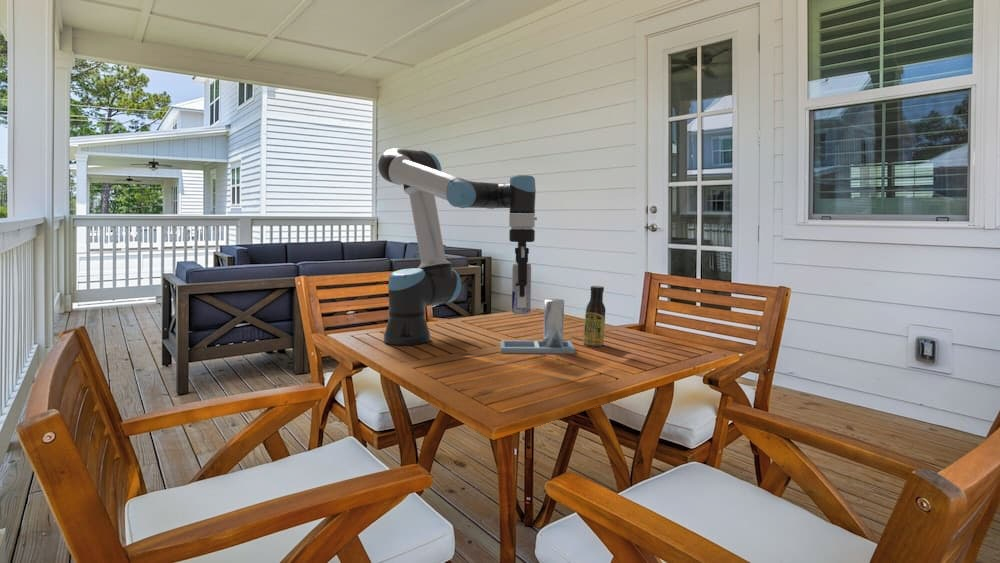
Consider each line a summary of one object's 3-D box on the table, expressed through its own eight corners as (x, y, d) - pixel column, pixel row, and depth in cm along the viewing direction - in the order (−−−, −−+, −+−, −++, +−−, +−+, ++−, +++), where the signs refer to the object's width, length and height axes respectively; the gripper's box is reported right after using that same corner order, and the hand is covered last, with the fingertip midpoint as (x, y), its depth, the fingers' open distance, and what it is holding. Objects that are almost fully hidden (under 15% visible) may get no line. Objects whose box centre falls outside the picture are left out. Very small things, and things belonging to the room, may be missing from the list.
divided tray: (500, 356, 161) (500, 348, 161) (500, 348, 171) (500, 340, 170) (574, 357, 161) (575, 348, 161) (570, 348, 171) (570, 340, 171)
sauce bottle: (580, 349, 171) (582, 286, 168) (587, 345, 176) (588, 284, 174) (600, 352, 168) (602, 288, 165) (606, 347, 173) (608, 285, 171)
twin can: (539, 349, 165) (540, 300, 164) (550, 345, 170) (551, 298, 168) (555, 352, 162) (557, 302, 160) (566, 348, 166) (568, 300, 165)
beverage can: (534, 313, 165) (534, 263, 163) (523, 315, 160) (524, 264, 159) (518, 310, 168) (519, 262, 166) (508, 313, 164) (508, 263, 162)
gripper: (537, 229, 152) (535, 311, 155) (532, 227, 170) (531, 301, 173) (510, 229, 152) (509, 311, 155) (508, 227, 170) (507, 300, 173)
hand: (521, 305), depth 164 cm, fingers closed on beverage can, 5 cm apart
